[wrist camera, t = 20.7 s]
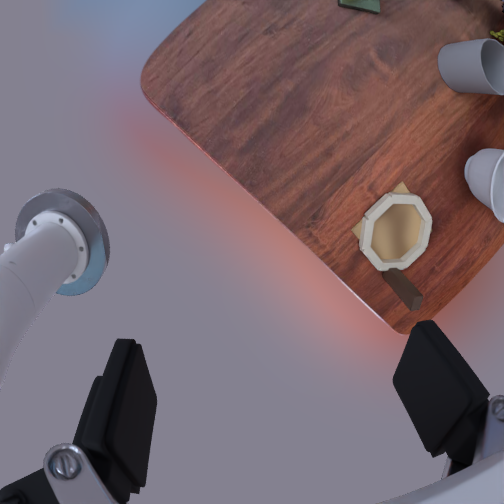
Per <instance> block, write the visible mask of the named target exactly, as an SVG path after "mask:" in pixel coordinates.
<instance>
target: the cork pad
mask: <svg viewBox="0 0 504 504" xmlns="http://www.w3.org/2000/svg"><path fill="white" fill-rule="evenodd" d="M391 192H396V193H410V192H409V190H408V189H407V187H406V186H405V184H404V183H403V182H401V183H399V184H398V185H397V186H396V187H395V188H394V189H393V190H392V191H391ZM365 217H366V216H365ZM420 225H421V218H420V216H419V215H418V213H417V212H416V210H415V208H414V207H413V205H412V204H392V205H391V206H390V207H389V208H388V209H387V210H386V211H385V212H384V213H383V214H382V215H381V216H380V217H379V218H378V219H377V220H376V221H375V222H374V228H373V234H372V241H371V248H372V249H373V251H374V252H375V253H376V254H377V256H378V257H379V258H380V259H400V258H401V257H402V256H403V255H404V254H405V253H407V252H408V251H409V250H410V249H411V248H412V247H413V246H414V245H415V244H416V243H417V240H418V235H419V230H420ZM361 227H362V220H361V221H359V222H358V223H357V224H356V225H355V226H354V227H353V228H352V229H351V231H352V232H353V233H354V234H355V235H356V237H357V238H358V239H359V240H360V234H361ZM432 231H433V230H432V228H431V231H430V233H431V232H432Z"/></svg>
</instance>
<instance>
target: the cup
mask: <svg viewBox="0 0 504 504" xmlns="http://www.w3.org/2000/svg"><path fill="white" fill-rule="evenodd" d="M438 68H439V71H440V73H441V76H442V79H443V80H444V81H445V83H446V84H447V85H448V86H449V88H451V89H453V90H454V91H456V92H462V93H483V94H496V95H504V46H503V45H501V44H500V43H499V42H498V41H497V40H494V39H489V38H487V39H479V40H472V41H465V42H458V43H452V44H447V45H445V46H444V47H442V48H441V49H440V52H439V55H438Z"/></svg>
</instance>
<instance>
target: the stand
mask: <svg viewBox="0 0 504 504" xmlns="http://www.w3.org/2000/svg"><path fill="white" fill-rule="evenodd" d="M338 6H342V7H347V8H352V9H356V10H361V11H365V12H369V13H373V14H379V13H380V0H338Z"/></svg>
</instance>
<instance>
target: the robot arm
mask: <svg viewBox="0 0 504 504" xmlns="http://www.w3.org/2000/svg"><path fill="white" fill-rule="evenodd" d="M88 259H89V251H88V245H87V242H86V239H85V236H84V234H83V232H82V230H81V229H80V228H79V226H78V225H77V224H76V223H75V222H74V221H73V220H72V219H71V218H70V217H68V216H67V215H65V214H63V213H61V212H57V211H45V212H42V213H40V214H38V215H37V216H35V217H34V218H33V219H32V220H31V221H30V222H29V224H28V226H27V229H26V232H25V236H24V237H23V238H21V239H20V240H19V241H17V242H16V243H7V244H5V246H4V253H3V254H1V255H0V390H1V388H2V385H3V382H4V380H5V377H6V374H7V371H8V368H9V365H10V362H11V359H12V357H13V355H14V353H15V351H16V349H17V347H18V345H19V343H20V342H21V340H22V338H23V337H24V335H25V334H26V332H27V331H28V329H29V328H30V327H31V325H32V324H33V322H34V321H35V320H36V318H37V317H38V315H39V314H40V313H41V311H42V310H43V309H44V307H45V306H46V305H47V303H48V302H49V301H50V299H51V298H52V297H53V295H54V294H55V293H56V292H57V290H58V289H59V288H60V286H61V285H62V284H69V283H72V282H74V281H76V280H77V279H78V278H79V277H80V276H81V275H82V274H83V272H84V271H85V269H86V267H87V264H88ZM393 385H394V387H395V389H396V391H397V393H398V395H399V397H400V399H401V401H402V403H403V404H404V406H405V408H406V410H407V412H408V414H409V416H410V418H411V420H412V422H413V424H414V426H415V428H416V430H417V432H418V434H419V437H420V439H421V441H422V442H423V445H424V447H425V449H426V451H428V452H430V453H431V455H432V457H433V458H434V457H436V456H438V455H441V454H443V453H444V452H445V451H446V453H447V455H448V457H447V461H446V464H445V468H444V471H443V475H442V478H441V480H440V481H437V482H435V483H433V484H430V485H428V486H425V487H423V488H420V489H418V490H416V491H413V492H410V493H407V494H405V495H402V496H399V497H396V498H393V499H390V500H387V501H384V502H381V503H378V504H504V396H503V395H497V396H494V397H493V398H491V400H490V401H489V400H488V399H487V398H488V397H489V395H490V394H489V392H488V391H487V390H486V388H485V387H484V386H483V384H482V383H481V381H480V380H479V378H478V377H477V376H476V374H475V373H474V372H473V370H472V369H471V368H470V366H469V365H468V364H467V362H466V361H465V360H464V358H463V357H462V356H461V354H460V353H459V352H458V351H457V349H456V348H455V347H454V346H453V344H452V343H451V342H450V341H449V339H448V338H447V337H446V335H445V334H444V333H443V332H442V331H441V329H440V328H439V327H438V326H437V324H436V323H435V322H434V321H433V320H426V321H420V322H417V323H416V325H415V326H414V327H413V328H412V330H411V333H410V336H409V339H408V341H407V344H406V347H405V349H404V352H403V354H402V357H401V359H400V362H399V364H398V367H397V369H396V371H395V374H394V376H393ZM156 407H157V396H156V393H155V390H154V387H153V384H152V380H151V377H150V374H149V370H148V367H147V364H146V360H145V357H144V354H143V350H142V346H141V344H136V341H135V340H134V339H117V340H116V342H115V344H114V347H113V349H112V352H111V354H110V357H109V360H108V362H107V365H106V368H105V370H104V373H103V376H97V377H96V378H95V380H94V382H93V384H92V387H91V390H90V393H89V395H88V398H87V401H86V404H85V407H84V409H83V413H82V415H81V418H80V421H79V424H78V427H77V430H76V434H75V437H74V440H73V443H72V444H69V443H63V444H58V445H56V446H54V447H52V448H51V449H50V450H49V451H48V452H47V453H46V455H45V458H44V462H43V467H44V468H42V469H40V470H38V471H36V472H34V473H32V474H30V475H28V476H26V477H24V478H22V479H20V480H17V481H15V482H13V483H11V484H9V485H7V486H5V487H3V488H2V489H1V490H0V504H128V503H127V502H128V501H129V498H130V493H136V494H139V491H140V487H145V484H146V477H147V469H148V461H149V453H150V446H151V439H152V432H153V426H154V420H155V414H156Z"/></svg>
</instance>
